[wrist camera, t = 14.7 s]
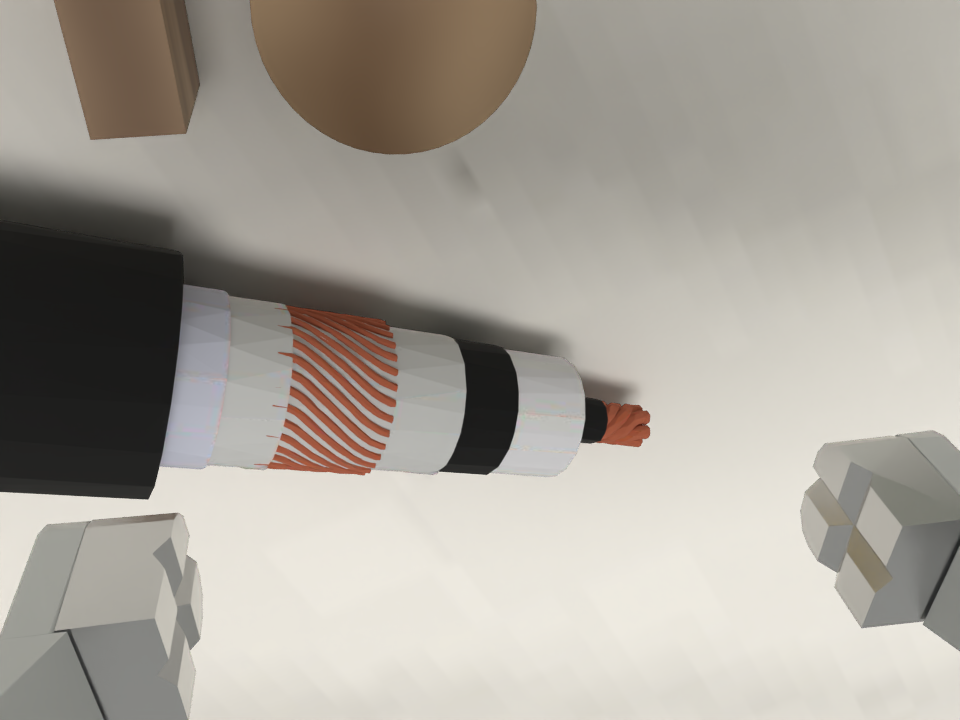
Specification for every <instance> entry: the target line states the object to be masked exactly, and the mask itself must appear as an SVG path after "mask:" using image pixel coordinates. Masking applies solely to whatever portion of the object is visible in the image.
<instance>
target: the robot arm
mask: <svg viewBox="0 0 960 720" xmlns="http://www.w3.org/2000/svg"><path fill="white" fill-rule="evenodd" d="M813 468H814V469H815V471H816V472H817V474H818V476H819V477H820V478H819V479H818V480H817V481H816V482H815V483H814V484H813V485H812V486H811V487H810V488H809V489H808V490H807V491H805V494H804V498H803V502H802V506H801V510H800V512H801V522H802V531H803V534H804V536H805V539H806V542H807V544H808V547H809V548H810V550H811V551H812V553H813V555H814V556H815V558H816V559H817V561H819V562H820V563H822V564H824V565H825V566H827V567H828V568H830V569H832V570H833V571H835V572H837V575H836V581H835V589H836V590H837V592H838V593H839V595H840V596H841V598H842V600H843V601H844V603H845V604H846V606H847V607H848V609H849V610H850V612H851V613H852V615H853V616H854V618H855V619H856V621H857V622H858V624H859V625H860V627H861V628H867V627H876V626H885V625H894V624H904V623H913V622H922V621H924V623H923V625H924V626H926V627H927V628H928V629H930V630H931V631H932V632H934V633H935V634H937V635H938V636H939V637H941V638H942V639H943V640H945V641H946V642H948V643H949V644H950V645H952V646H953V647H955V648H956V649H957V650H959V651H960V451H959V450H958V449H957V448H956V447H955V446H954V445H953V444H952V443H951V442H950V441H949V440H948V439H947V438H946V437H945V436H944V435H942V434H940V433H938V432H935V431H933V430H932V431H924V432H916V433H907V434H899V435H896V436H885V437H876V438H868V439H859V440H850V441H842V442H833V443H825V444H824V445H823V446H822V448H821V449H820V450H819V451H818V452H817V455H816V458H815V461H814V465H813ZM188 542H189V532H188V529H187V526H186V523H185V519H184V516H183V515H181V514H180V513H169V514H157V515H146V516H134V517H122V518H110V519H98V520H92V521H87V522H74V523H61V524H48V525H46V526H45V527H44V528H43V529H42V530H41V531H40V533H39V534H38V535H37V537H36V540H35V543H34V545H33V548H32V551H31V553H30V556H29V559H28V561H27V564H26V567H25V569H24V572H23V575H22V578H21V580H20V583H19V586H18V588H17V591H16V594H15V596H14V599H13V602H12V604H11V607H10V610H9V612H8V615H7V618H6V620H5V623H4V626H3V628H2V631H1V634H0V720H189V716H190V709H191V702H192V695H193V688H194V681H195V674H196V670H195V667H194V663H193V660H192V656H191V653H190V650H191V649H192V648H193V647H194V645H195V644H196V643H197V642H198V641H199V640H200V637H201V628H202V619H203V594H202V586H201V579H200V574H199V570H198V566H197V562H196V561H195V560H193V559H192V558H191V557H189V556H188V555H186V554H187V548H188Z"/></svg>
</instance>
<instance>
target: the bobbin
mask: <svg viewBox="0 0 960 720" xmlns="http://www.w3.org/2000/svg"><path fill="white" fill-rule="evenodd" d="M250 9H251V21H252V26H253V31H254V36H255V41H256V44H257V47H258V50H259V53H260V56H261V59H262V61H263V64H264V66H265V68H266V70H267V72H268V74H269V76H270V78H271V80H272V81H273V83H274V84H275V86H276V87H277V89H278V90H279V92H280V94H281V95H282V96H283V97H284V99H285V100H286V101H287V102H288V103H289V105H290V106H291V107H292V108H293V109H294V110H295V111H296V112H297V113H298V114H299V115H300V116H301V117H302V118H303V119H304V120H305V121H307V122H308V123H309V124H310V125H312V126H313V127H315V128H316V129H317V130H319V131H320V132H322V133H323V134H325V135H327V136H329V137H331V138H332V139H334V140H336V141H338V142H340V143H343V144H345V145H348V146H351V147H353V148H356V149H360V150H364V151H368V152H373V153H382V154H411V153H418V152H424V151H428V150H431V149H435V148H439V147H441V146H444V145H446V144H449V143H451V142H453V141H455V140H457V139H459V138H461V137H463V136H464V135H466V134H468V133H470V132H471V131H472V130H474V129H475V128H476V127H478V126H479V125H480V124H482V123H483V122H484V121H485V120H486V119H487V118H488V117H489V116H490V115H492V114H493V113H494V112H495V111H496V110H497V108H498V107H499V106H500V105H501V104H502V102H503V101H504V100H505V99H506V97H507V96H508V95H509V93H510V91H511V90H512V88H513V87H514V85H515V84H516V82H517V80H518V78H519V76H520V74H521V72H522V70H523V68H524V66H525V63H526V60H527V57H528V54H529V51H530V48H531V44H532V40H533V35H534V30H535V22H536V11H537V4H536V0H250Z"/></svg>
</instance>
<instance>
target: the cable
mask: <svg viewBox="0 0 960 720" xmlns="http://www.w3.org/2000/svg"><path fill="white" fill-rule="evenodd" d="M649 422H650V414H649V413H648V412H647V411H643V410H642V407H641V406H640V405H630V404H624V405H623V406H621V405H620V404H618V403H610V404H609V405H607V404H606V403H605V402H604V401H601V400H598V399H593V398H585V393H584V389H583V385H582V381H581V378H580V376H579V374H578V372H577V370H576V368H575V366H574V365H573V364H571V363H570V362H569V361H568V360H566V359H565V358H563V357H556V356H548V355H541V354H534V353H527V352H520V351H513V350H506V349H504V348H502V347H499V346H495V345H490V344H483V343H477V342H470V341H464V340H457V339H453V338H452V337H449V336H446V335H441V334H434V333H428V332H421V331H415V330H408V329H401V328H395V327H390V326H389V325H386V321H383V320H381V319H374V318H365V317H359V316H353V315H347V314H339V313H334V312H327V311H319V310H313V309H307V308H299V307H293V306H287V305H285V304H281V303H274V302H267V301H261V300H254V299H247V298H240V297H233V296H229V295H228V293H227V292H226V291H224V290H217V289H211V288H204V287H198V286H191V285H185V284H184V274H183V255H182V254H181V253H180V252H179V251H174V250H169V249H163V248H157V247H151V246H146V245H140V244H134V243H128V242H123V241H117V240H111V239H105V238H100V237H94V236H88V235H82V234H77V233H71V232H65V231H59V230H54V229H48V228H42V227H36V226H31V225H25V224H19V223H13V222H8V221H2V220H0V492H13V493H33V494H52V495H71V496H90V497H110V498H129V499H149V497H150V495H151V493H152V491H153V489H154V486H155V482H156V478H157V474H158V470H159V466H162V467H176V468H190V469H203V468H205V467H206V465H213V466H229V467H240V468H244V469H257V470H265V469H267V468H270V469H290V470H300V471H312V472H333V473H339V474H358V475H365V473H370V471H371V470H386V471H401V472H408V473H419V474H429V475H434V474H437V473H438V471H439V472H454V473H469V474H484V475H487V474H489V473H500V474H513V475H526V476H539V477H552V476H556V475H558V474H560V473H561V472H563V471H564V470H566V468H567V467H568V465H569V464H570V462H571V461H572V459H573V458H574V456H575V455H576V453H577V450H578V447H579V445H580V443H590V444H591V443H595V442H597V443H607V444H612V445H616V444H618V445H625V446H634V447H639V446H641V444H642V442H643V441H642V438H643V439H646V438H648V437H649V436H650V428H649V427H648V426H647V425H646V424H647V423H649ZM642 424H643V425H642Z"/></svg>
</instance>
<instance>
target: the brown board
mask: <svg viewBox="0 0 960 720" xmlns="http://www.w3.org/2000/svg"><path fill="white" fill-rule="evenodd" d="M54 3H55V7H56V10H57V14H58V18H59V22H60V26H61V29H62V33H63V37H64V41H65V45H66V48H67V52H68V56H69V60H70V64H71V67H72V71H73V75H74V79H75V82H76V86H77V90H78V94H79V98H80V101H81V105H82V109H83V113H84V117H85V120H86V124H87V128H88V132H89V136H90V139H91V140H95V139H110V138H125V137H141V136H156V135H172V134H186V132H187V129H188V125H189V122H190V118H191V115H192V111H193V107H194V104H195V100H196V97H197V93H198V90H199V86H200V83H199V77H198V72H197V66H196V61H195V56H194V50H193V45H192V39H191V34H190V28H189V23H188V17H187V12H186V7H185V1H184V0H54Z"/></svg>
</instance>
